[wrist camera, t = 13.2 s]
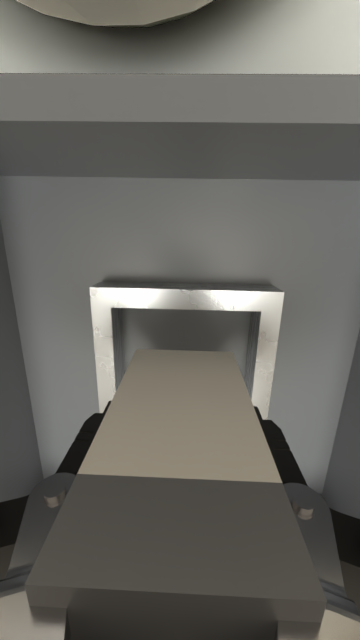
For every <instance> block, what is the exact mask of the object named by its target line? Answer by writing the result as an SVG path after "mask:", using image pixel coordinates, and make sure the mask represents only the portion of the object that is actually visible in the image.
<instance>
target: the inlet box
mask: <svg viewBox="0 0 360 640" xmlns="http://www.w3.org/2000/svg"><path fill="white" fill-rule="evenodd" d="M136 349H154V350H185V351H217V352H233V353H234V356H235V359H236V361H237V364H238V367H239V369H240V372H241V374H242V377H243V380H244V382H245V385H246V388H247V390H248V393H249V396H250V398H251V401H252V404H253V406H257V407H258V409H259V411H260V414H261V416H262V419H263V420H272V421H273V422H274V423H275V424H276V425H277V426H278V427H279V428H280V429H281V430H282V432H283V435H284V437H285V439H286V442H287V443H288V445H289V447H290V451H292V454H293V456H294V458H295V460H296V462H297V464H298V466H299V468H300V470H301V473H302V475H303V477H304V479H305V481H306V483H307V485H308V487H310V488H311V489H313V490H315V491H316V492H317V493H318V494H319V495H320V496H322V498H323V499H324V500H325V501H326V503H327V504H328V507H329V508H331V509H333V510H335V511H338V512H340V513H343V514H346V515H349V516H352V517H355V518H358V519H360V75H342V74H50V73H0V502H4V501H8V500H12V499H16V498H20V497H24V496H27V495H29V494H30V493H31V491H32V490H33V488H34V487H35V486H36V485H37V484H38V483H39V482H41V481H42V480H43V479H45V478H47V477H49V476H51V475H54V474H55V473H56V471H57V469H58V468H59V466H60V464H61V462H62V461H63V459H64V457H65V455H66V454H67V452H68V450H69V448H70V447H71V445H72V443H73V442H74V440H75V438H76V436H77V434H78V433H79V431H80V429H81V427H82V425H83V424H84V422H85V421H86V420H87V419H88V418H89V417H90V416H92V415H93V414H94V413H103V412H104V410H105V408H106V406H107V404H108V402H109V401H112V399H113V397H114V395H115V393H116V391H117V389H118V387H119V385H120V382H121V380H122V378H123V376H124V374H125V372H126V370H127V368H128V366H129V364H130V361H131V359H132V357H133V355H134V353H135V351H136Z"/></svg>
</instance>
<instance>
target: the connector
mask: <svg viewBox="0 0 360 640" xmlns="http://www.w3.org/2000/svg"><path fill="white" fill-rule="evenodd" d="M24 585H25V590H26V594H27V599H28V603H29V606H40V607H57V608H67V612H68V619H69V625H70V631H71V637H70V640H274V637H275V632H276V627H277V622H278V620H283V621H301V622H318V623H322V619H323V615H324V612H325V608H326V604H327V599H326V597H325V594H324V591H323V589H322V586H321V584H320V581H319V578H318V576H317V573H316V570H315V568H314V565H313V562H312V560H311V557H310V554H309V552H308V549H307V546H306V544H305V541H304V539H303V536H302V533H301V531H300V528H299V525H298V523H297V520H296V517H295V515H294V512H293V509H292V507H291V504H290V502H289V499H288V496H287V494H286V491H285V488H284V486H283V483H282V480H281V478H280V475H279V472H278V470H277V467H276V464H275V462H274V459H273V457H272V454H271V451H270V449H269V446H268V443H267V441H266V438H265V435H264V433H263V430H262V427H261V425H260V422H259V419H258V417H257V414H256V412H255V409H254V406H253V404H252V401H251V398H250V396H249V393H248V390H247V388H246V385H245V382H244V380H243V377H242V374H241V372H240V369H239V367H238V364H237V361H236V359H235V356H234V353H233V352H217V351H185V350H154V349H136V351H135V353H134V355H133V357H132V359H131V361H130V364H129V366H128V368H127V370H126V372H125V374H124V376H123V378H122V380H121V382H120V385H119V387H118V389H117V391H116V393H115V395H114V397H113V399H112V401H111V404H110V406H109V408H108V410H107V412H106V414H105V416H104V418H103V420H102V422H101V425H100V427H99V429H98V431H97V433H96V435H95V437H94V439H93V441H92V443H91V446H90V448H89V450H88V452H87V454H86V456H85V458H84V460H83V462H82V465H81V467H80V469H79V471H78V473H77V475H76V477H75V479H74V481H73V483H72V486H71V488H70V490H69V492H68V494H67V496H66V498H65V500H64V502H63V504H62V507H61V509H60V511H59V513H58V515H57V517H56V519H55V521H54V523H53V526H52V528H51V530H50V532H49V534H48V536H47V538H46V540H45V542H44V544H43V547H42V549H41V551H40V553H39V555H38V557H37V559H36V561H35V563H34V565H33V568H32V570H31V572H30V574H29V576H28V578H27V580H26V582H25V584H24Z"/></svg>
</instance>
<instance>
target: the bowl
mask: <svg viewBox="0 0 360 640" xmlns="http://www.w3.org/2000/svg"><path fill="white" fill-rule="evenodd" d="M16 1H18V2H20V3H22V4H24V5H26V6H28V7H30V8H32V9H34V10H36V11H38V12H40V13H42V14H45V15H50V16H54V17H58V18H62V19H67V20H71V21H75V22H80V23H84V24H88V25H93V26H109V27H113V28H129V27H152V26H155V25H159V24H162V23H166V22H170V21H173V20H177V19H181V18H184V17H186V16H188V15H190V14H192V13H193V12H195V11H197V10H199V9H201V8H202V7H204V6H206V5H208V4H210V3H212V2H213V1H215V0H16Z"/></svg>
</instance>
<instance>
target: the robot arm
mask: <svg viewBox="0 0 360 640" xmlns="http://www.w3.org/2000/svg"><path fill="white" fill-rule="evenodd" d="M110 404H111V401H109V402H108V404H107V406H106V408H105V410H104V412H103V413H94V414H93V415H92V416H90V417H89V418H88V419H87V420H86V421H85V422H84V424H83V425H82V427H81V429H80V431H79V433H78V434H77V436H76V438H75V440H74V442H73V443H72V445H71V447H70V448H69V450H68V452H67V454H66V455H65V457H64V459H63V461H62V462H61V464H60V466H59V468H58V469H57V471H56V473H55V474H54V475H51V476H49V477H47V478H45V479H43V480H42V481H41V482H39V483H38V484H37V485H36V486H35V487H34V488H33V490H32V491H31V493H30V494H29V495H27V496H24V497H20V498H16V499H12V500H8V501H4V502H0V640H70V637H71V631H70V625H69V619H68V612H67V608H57V607H40V606H29V603H28V599H27V594H26V590H25V585H24V584H25V582H26V580H27V578H28V576H29V574H30V572H31V570H32V568H33V565H34V563H35V561H36V559H37V557H38V555H39V553H40V551H41V549H42V547H43V544H44V542H45V540H46V538H47V536H48V534H49V532H50V530H51V528H52V526H53V523H54V521H55V519H56V517H57V515H58V513H59V511H60V509H61V507H62V504H63V502H64V500H65V498H66V496H67V494H68V492H69V490H70V488H71V486H72V483H73V481H74V479H75V477H76V475H77V473H78V471H79V469H80V467H81V465H82V462H83V460H84V458H85V456H86V454H87V452H88V450H89V448H90V446H91V443H92V441H93V439H94V437H95V435H96V433H97V431H98V429H99V427H100V425H101V422H102V420H103V418H104V416H105V414H106V412H107V410H108V408H109V406H110ZM254 409H255V412H256V414H257V417H258V419H259V422H260V425H261V427H262V430H263V433H264V435H265V438H266V441H267V443H268V446H269V449H270V451H271V454H272V457H273V459H274V462H275V464H276V467H277V470H278V472H279V475H280V478H281V480H282V483H283V486H284V488H285V491H286V494H287V496H288V499H289V502H290V504H291V507H292V509H293V512H294V515H295V517H296V520H297V523H298V525H299V528H300V531H301V533H302V536H303V539H304V541H305V544H306V546H307V549H308V552H309V554H310V557H311V560H312V562H313V565H314V568H315V570H316V573H317V576H318V578H319V581H320V584H321V586H322V589H323V591H324V594H325V597H326V599H327V604H326V608H325V612H324V615H323V619H322V623H318V622H301V621H283V620H278V622H277V627H276V632H275V637H274V640H360V519H358V518H355V517H352V516H349V515H346V514H343V513H340V512H338V511H335V510H333V509H331V508H329V507H328V504H327V503H326V501H325V500H324V499H323V498H322V496H320V495H319V494H318V493H317V492H316V491H315V490H313V489H311V488H310V487H308V485H307V483H306V481H305V479H304V477H303V475H302V473H301V470H300V468H299V466H298V464H297V462H296V460H295V458H294V456H293V454H292V451H290V447H289V445H288V443H287V442H286V439H285V437H284V435H283V432H282V430H281V429H280V428H279V427H278V426H277V425H276V424H275V423H274V422H273V421H272V420H263V419H262V416H261V414H260V411H259V409H258V407H257V406H254Z"/></svg>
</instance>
